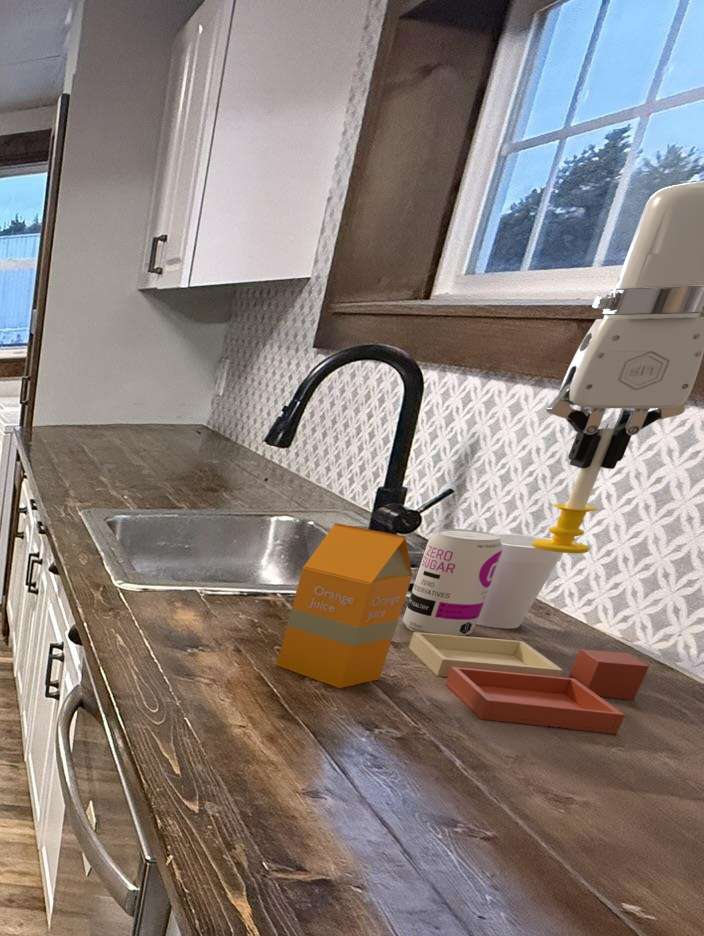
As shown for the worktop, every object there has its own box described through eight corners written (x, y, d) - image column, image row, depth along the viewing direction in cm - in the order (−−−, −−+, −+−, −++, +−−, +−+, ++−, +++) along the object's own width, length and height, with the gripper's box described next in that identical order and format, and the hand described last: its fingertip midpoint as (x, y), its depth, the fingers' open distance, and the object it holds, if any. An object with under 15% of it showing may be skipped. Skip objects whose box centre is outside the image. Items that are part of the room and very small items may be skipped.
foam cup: (447, 622, 129) (475, 541, 124) (455, 608, 135) (482, 530, 130) (530, 636, 123) (563, 551, 118) (536, 621, 128) (568, 539, 123)
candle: (521, 542, 109) (567, 421, 103) (570, 544, 108) (619, 421, 102) (547, 552, 104) (596, 426, 98) (599, 554, 103) (652, 426, 97)
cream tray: (516, 657, 116) (523, 641, 115) (556, 688, 106) (563, 670, 105) (408, 647, 120) (413, 631, 119) (437, 676, 111) (442, 659, 110)
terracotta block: (613, 686, 106) (628, 653, 104) (634, 700, 102) (649, 666, 101) (566, 681, 108) (579, 649, 106) (584, 695, 104) (599, 661, 102)
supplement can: (479, 631, 125) (514, 534, 120) (460, 643, 121) (496, 543, 115) (412, 618, 132) (442, 525, 126) (393, 629, 127) (423, 534, 122)
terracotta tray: (567, 696, 104) (574, 678, 103) (616, 734, 95) (625, 714, 94) (444, 683, 109) (451, 666, 108) (480, 719, 99) (487, 700, 98)
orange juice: (339, 688, 108) (384, 540, 101) (275, 665, 116) (312, 525, 108) (380, 679, 111) (427, 533, 103) (315, 657, 118) (354, 519, 111)
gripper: (580, 307, 95) (522, 469, 102) (774, 301, 89) (698, 474, 96) (549, 308, 101) (496, 460, 108) (728, 302, 95) (659, 464, 102)
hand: (591, 465), depth 102 cm, fingers closed on candle
